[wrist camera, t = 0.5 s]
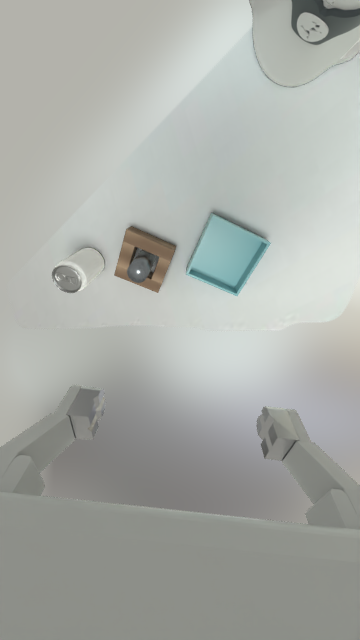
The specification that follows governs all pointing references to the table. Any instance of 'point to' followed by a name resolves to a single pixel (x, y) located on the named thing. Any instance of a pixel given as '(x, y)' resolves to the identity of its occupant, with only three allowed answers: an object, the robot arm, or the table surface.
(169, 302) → the table surface
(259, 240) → the tray
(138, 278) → the pin
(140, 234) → the pin block
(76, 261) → the can
